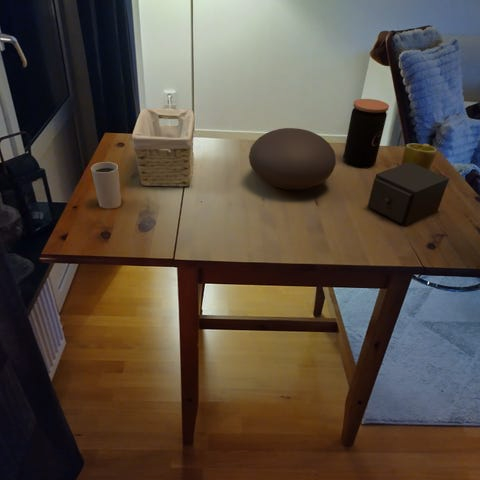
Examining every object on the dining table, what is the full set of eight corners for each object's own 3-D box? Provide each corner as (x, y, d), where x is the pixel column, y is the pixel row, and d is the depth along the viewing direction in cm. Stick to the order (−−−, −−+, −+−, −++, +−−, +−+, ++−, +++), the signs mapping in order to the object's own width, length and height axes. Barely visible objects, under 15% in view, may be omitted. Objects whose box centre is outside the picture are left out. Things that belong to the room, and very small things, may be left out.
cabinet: (405, 226, 120) (415, 192, 114) (367, 207, 128) (376, 173, 121) (437, 211, 127) (449, 178, 121) (400, 194, 135) (410, 161, 128)
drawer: (398, 224, 119) (406, 196, 114) (364, 207, 126) (371, 180, 120) (431, 209, 126) (441, 182, 121) (398, 193, 133) (405, 167, 127)
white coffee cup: (121, 196, 126) (116, 161, 120) (124, 207, 122) (119, 171, 115) (96, 199, 125) (89, 163, 118) (98, 210, 120) (92, 173, 113)
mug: (426, 177, 139) (429, 142, 136) (394, 177, 146) (396, 144, 143) (442, 174, 147) (446, 141, 144) (412, 174, 154) (414, 143, 151)
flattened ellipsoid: (274, 159, 150) (279, 111, 140) (344, 180, 140) (354, 130, 130) (231, 185, 134) (232, 133, 125) (306, 211, 124) (314, 156, 114)
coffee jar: (371, 171, 146) (385, 111, 134) (338, 164, 149) (349, 105, 137) (378, 159, 154) (392, 102, 142) (347, 153, 157) (358, 96, 145)
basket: (192, 189, 131) (191, 137, 121) (135, 188, 130) (129, 135, 121) (196, 156, 149) (195, 108, 139) (145, 155, 148) (141, 107, 138)
